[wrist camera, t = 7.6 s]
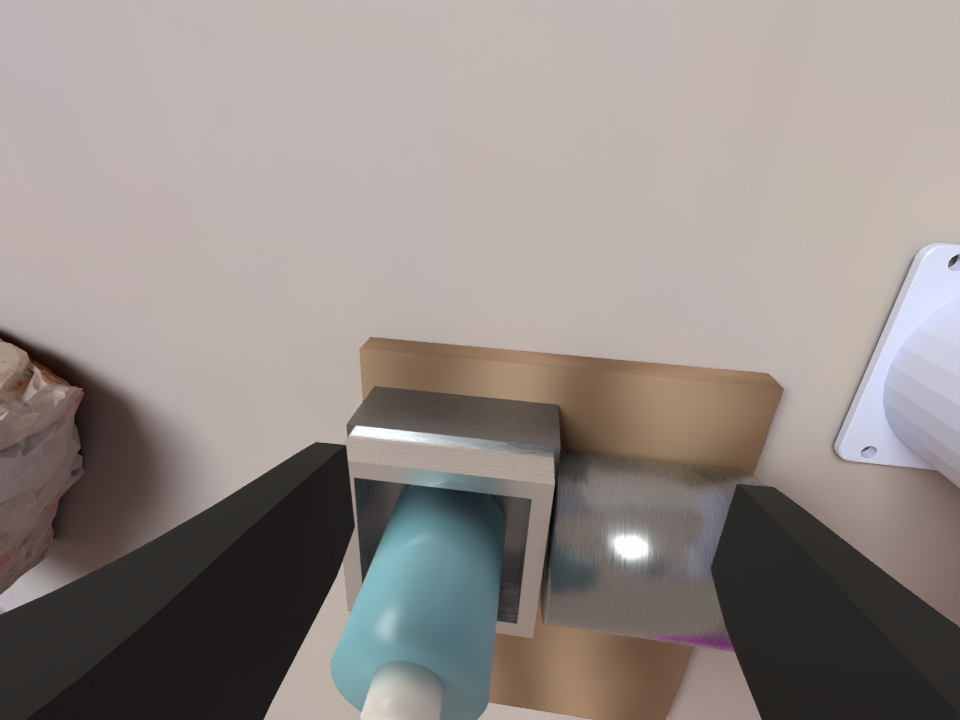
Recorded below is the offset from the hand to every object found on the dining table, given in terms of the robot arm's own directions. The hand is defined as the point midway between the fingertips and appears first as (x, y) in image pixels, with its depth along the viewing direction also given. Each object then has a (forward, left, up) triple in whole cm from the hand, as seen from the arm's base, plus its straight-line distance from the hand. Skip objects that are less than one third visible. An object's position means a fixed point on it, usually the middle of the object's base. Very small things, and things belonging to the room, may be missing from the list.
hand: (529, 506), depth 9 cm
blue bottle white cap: (+2, +6, -6) cm, 8 cm away
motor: (-1, +6, -8) cm, 10 cm away
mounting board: (-1, +11, -10) cm, 14 cm away
